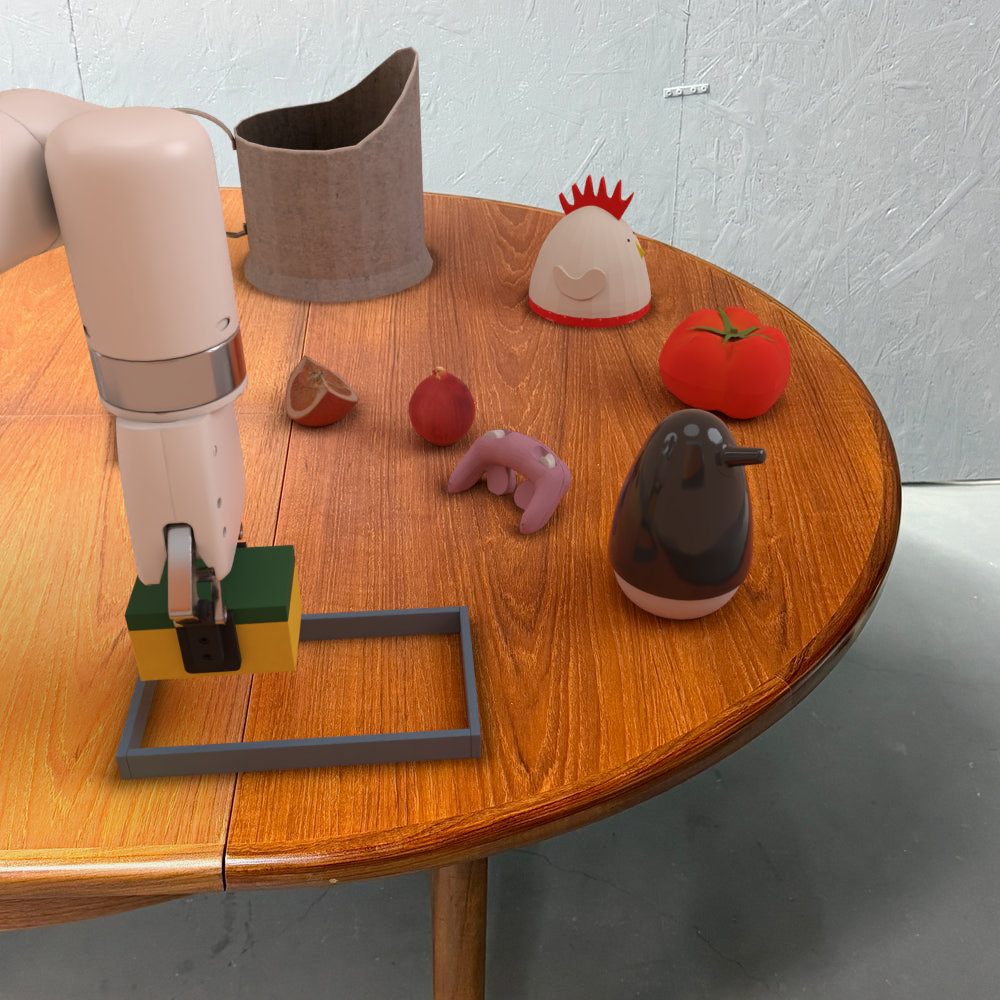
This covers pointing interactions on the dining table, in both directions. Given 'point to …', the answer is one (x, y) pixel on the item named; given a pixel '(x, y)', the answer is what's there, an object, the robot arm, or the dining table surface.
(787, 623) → the dining table surface
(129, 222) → the robot arm
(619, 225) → the kitchen timer
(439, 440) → the onion
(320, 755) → the rectangular frame
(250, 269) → the pitcher
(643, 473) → the pump dispenser
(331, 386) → the fruit slice
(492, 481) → the video game controller
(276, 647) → the sponge
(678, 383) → the tomato
